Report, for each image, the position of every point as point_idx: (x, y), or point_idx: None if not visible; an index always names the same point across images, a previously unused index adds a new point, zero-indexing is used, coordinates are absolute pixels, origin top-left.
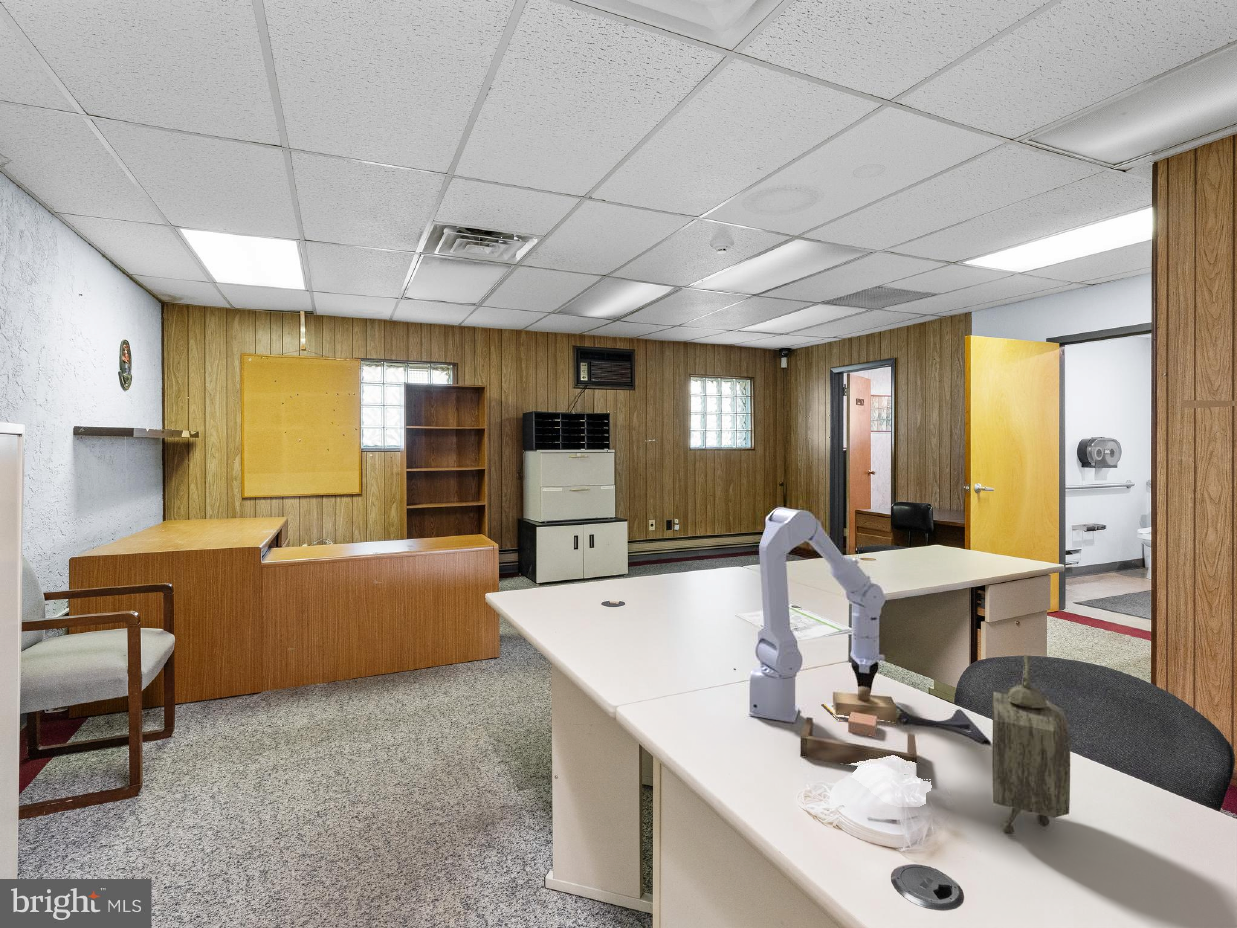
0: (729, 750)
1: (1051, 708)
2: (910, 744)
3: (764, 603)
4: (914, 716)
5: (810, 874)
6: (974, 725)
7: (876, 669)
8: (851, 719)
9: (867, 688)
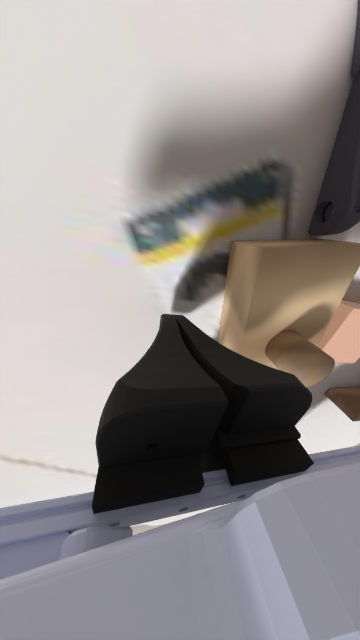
0: (338, 435)
1: None
2: None
3: None
4: (358, 161)
5: None
6: None
7: (311, 394)
8: (349, 358)
9: (316, 363)
